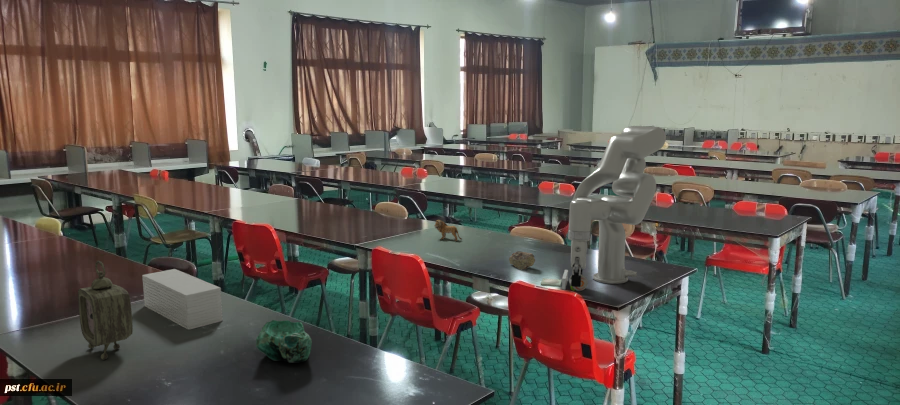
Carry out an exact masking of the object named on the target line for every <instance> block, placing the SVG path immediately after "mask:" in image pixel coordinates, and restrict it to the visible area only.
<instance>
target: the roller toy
mask: <svg viewBox="0 0 900 405" xmlns="http://www.w3.org/2000/svg"><path fill="white" fill-rule="evenodd" d="M580 275H581V286H580V287H573V286H571V277H572V274H571V275H570V277H569V278H568V282H569V286H570V290H571V291H573V292H574V291H576V292H582V291H584V290H585V289H586V288H587V287H588V283H589V281H588V279H587V277H586V276H585V275H584V274H583V273H582V274H580Z"/></svg>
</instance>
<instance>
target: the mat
mask: <svg viewBox="0 0 900 405" xmlns="http://www.w3.org/2000/svg"><path fill="white" fill-rule="evenodd" d="M540 286H546V287H547V286H549V287H561V286H562V278H561V279H558V278H543V277H542V280H541V282H540Z"/></svg>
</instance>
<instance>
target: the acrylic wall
mask: <svg viewBox="0 0 900 405" xmlns="http://www.w3.org/2000/svg"><path fill="white" fill-rule="evenodd" d="M563 271H564V272H563V275H562V278H561V280H562V282H561V290H564V291H565V290H566V288H567V285H568V282H569V270H568V269H564V270H563Z"/></svg>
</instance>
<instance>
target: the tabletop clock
mask: <svg viewBox="0 0 900 405" xmlns="http://www.w3.org/2000/svg"><path fill="white" fill-rule="evenodd" d="M98 264H99V265H100V267H101V269H102V271H101V270H100V271H99V270H98V266H99V265H98ZM94 265H95V266H94V267H95V272H96V274H97V276H98V277H97V278H95V279H94V280H92V282H91V285H90V286H87V287H83V288H78V289H77V302H78V306H77V307H78V315H79V323H80V329H81V330H80V331H81V334H82V336H83V338H84V340H85V341H86V342H88V345H87V347H88V348H89V349H94V348H95V347H100V346H104V347H103V348H104V349H103V353H101V355H100V359H101V360H107V359H108V356H109V355H108V354H107V351H108V347H109V346H110V345H111V344H113V346H112V347H113V349H114V350H116V351H117V350H119V349H120V348H121V345H120V344H119V343H117V342H120V341H124V340H127V339H128V338H129V337H130V336H131V335H133V331H134V329H133V327H134V326H133V312H132V311H133V310H132V305H131V304H132V302H131V297H130V294H129V292H128V291H127V289H125V288H124V287H122V286H120V285H117V284H113V282H112V280H111V279H110V278H108V277H106V269H105V268H106V267H105V266H104V263H103V262H102V261H100V260H97V261H96V262H95V264H94Z"/></svg>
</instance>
